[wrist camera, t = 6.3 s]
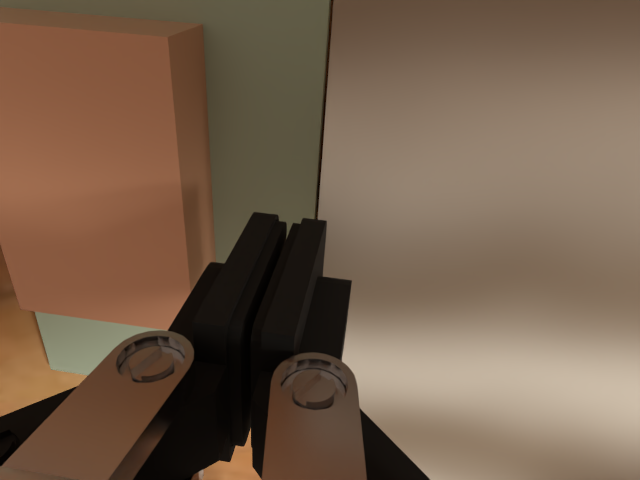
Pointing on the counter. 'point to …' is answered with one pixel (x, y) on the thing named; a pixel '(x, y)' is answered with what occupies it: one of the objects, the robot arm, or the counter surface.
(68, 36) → the tile
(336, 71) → the white flat block
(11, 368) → the counter surface
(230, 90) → the mat
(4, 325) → the counter surface
